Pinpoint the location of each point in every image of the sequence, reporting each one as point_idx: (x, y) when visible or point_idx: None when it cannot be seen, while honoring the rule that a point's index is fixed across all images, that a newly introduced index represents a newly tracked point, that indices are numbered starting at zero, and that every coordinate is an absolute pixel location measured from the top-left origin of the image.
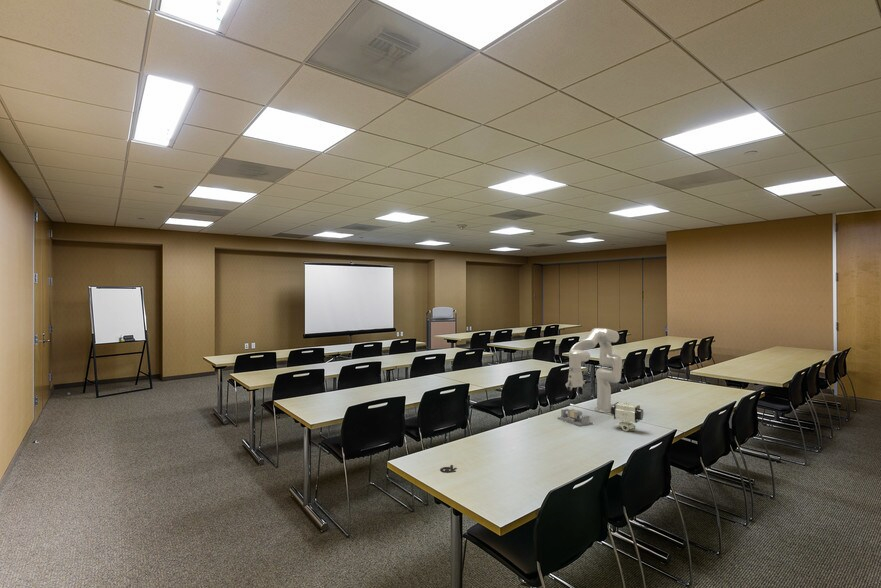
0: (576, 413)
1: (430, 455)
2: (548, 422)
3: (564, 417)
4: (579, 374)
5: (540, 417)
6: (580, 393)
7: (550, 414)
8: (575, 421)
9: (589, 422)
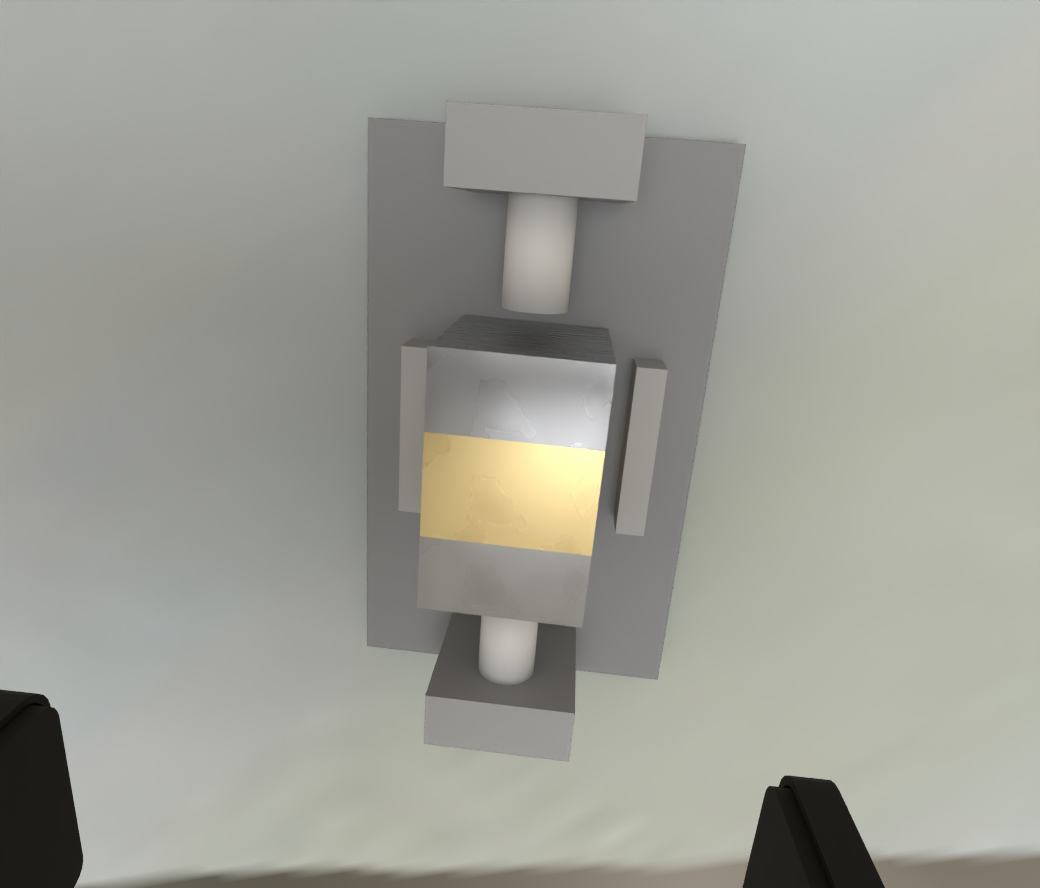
0: (613, 374)
1: None
2: (962, 628)
3: None
4: None
5: None
6: (44, 782)
7: (553, 840)
8: None
9: (424, 160)
